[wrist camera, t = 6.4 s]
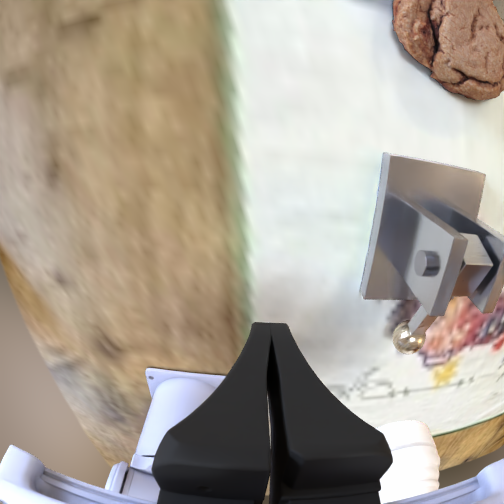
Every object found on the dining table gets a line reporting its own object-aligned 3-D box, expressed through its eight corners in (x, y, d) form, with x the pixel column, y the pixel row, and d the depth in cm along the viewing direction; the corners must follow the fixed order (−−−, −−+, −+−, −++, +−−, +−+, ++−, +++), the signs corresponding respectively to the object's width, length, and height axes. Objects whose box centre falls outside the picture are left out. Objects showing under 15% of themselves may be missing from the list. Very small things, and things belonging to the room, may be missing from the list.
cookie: (467, 128, 17) (492, 132, 14) (357, 15, 14) (371, 1, 12) (518, 50, 13) (542, 49, 10) (425, -52, 11) (443, -66, 8)
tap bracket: (446, 291, 22) (490, 347, 15) (359, 290, 22) (390, 358, 15) (476, 170, 18) (543, 199, 11) (383, 152, 18) (441, 174, 11)
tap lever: (412, 330, 23) (419, 358, 21) (385, 331, 23) (390, 361, 21) (478, 233, 15) (496, 266, 13) (446, 229, 15) (463, 265, 13)
